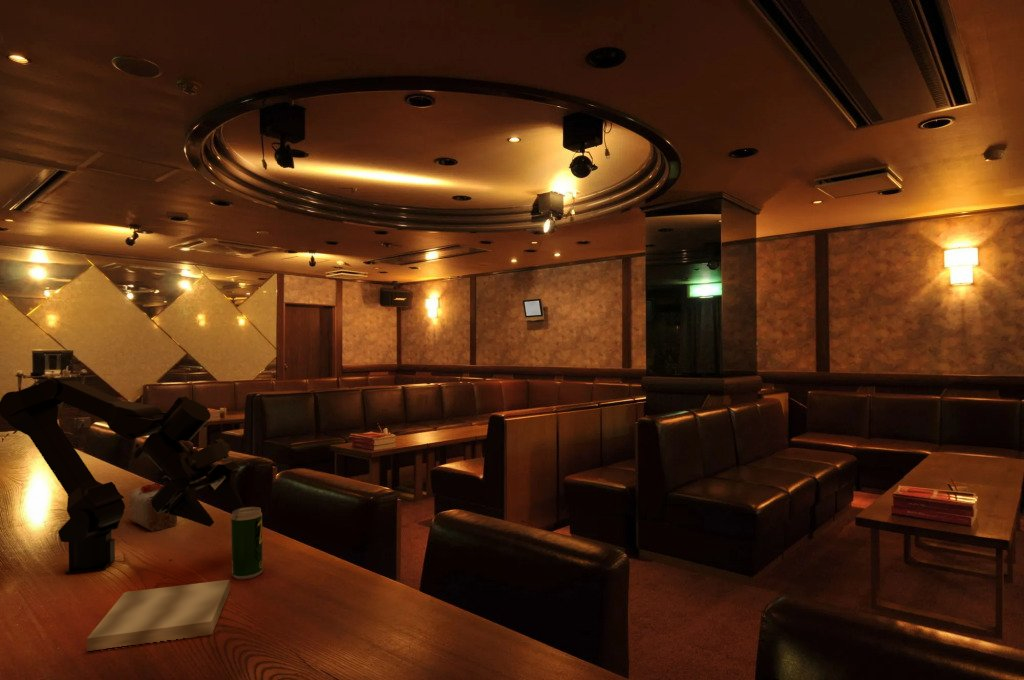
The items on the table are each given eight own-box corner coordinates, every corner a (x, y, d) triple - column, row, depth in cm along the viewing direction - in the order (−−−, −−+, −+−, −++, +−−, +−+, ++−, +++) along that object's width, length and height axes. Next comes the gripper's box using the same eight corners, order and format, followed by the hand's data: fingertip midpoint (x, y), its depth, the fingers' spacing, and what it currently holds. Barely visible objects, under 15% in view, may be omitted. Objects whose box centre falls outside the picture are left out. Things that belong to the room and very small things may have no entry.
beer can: (234, 582, 107) (233, 516, 107) (229, 573, 112) (228, 509, 112) (265, 575, 110) (264, 511, 110) (260, 566, 115) (259, 504, 115)
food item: (125, 522, 144) (124, 482, 144) (160, 514, 150) (160, 476, 150) (146, 534, 135) (146, 491, 135) (183, 525, 142) (183, 484, 141)
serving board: (87, 652, 84) (86, 638, 84) (125, 604, 99) (124, 592, 99) (211, 634, 88) (211, 621, 88) (229, 591, 104) (229, 579, 104)
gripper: (164, 436, 103) (224, 501, 101) (230, 421, 121) (281, 475, 120) (124, 481, 104) (183, 545, 103) (195, 459, 123) (246, 513, 121)
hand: (227, 516), depth 112 cm, fingers open, 9 cm apart
